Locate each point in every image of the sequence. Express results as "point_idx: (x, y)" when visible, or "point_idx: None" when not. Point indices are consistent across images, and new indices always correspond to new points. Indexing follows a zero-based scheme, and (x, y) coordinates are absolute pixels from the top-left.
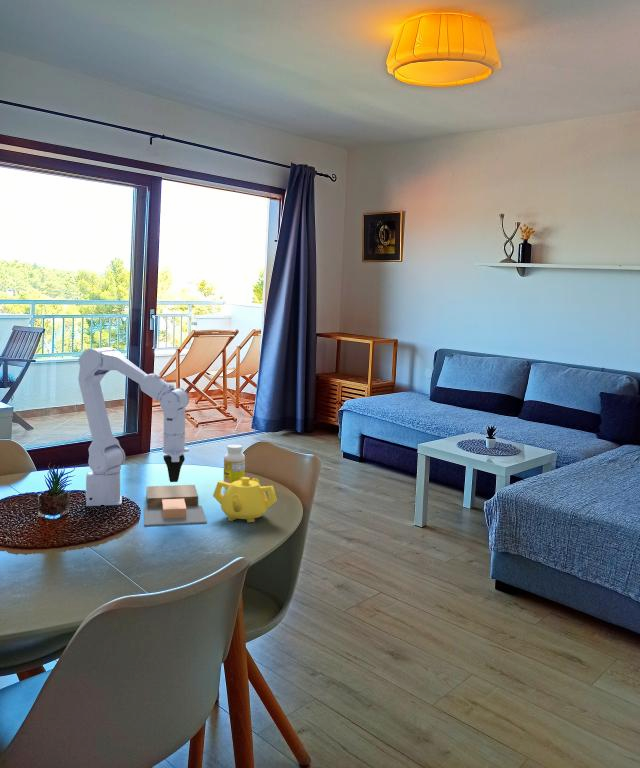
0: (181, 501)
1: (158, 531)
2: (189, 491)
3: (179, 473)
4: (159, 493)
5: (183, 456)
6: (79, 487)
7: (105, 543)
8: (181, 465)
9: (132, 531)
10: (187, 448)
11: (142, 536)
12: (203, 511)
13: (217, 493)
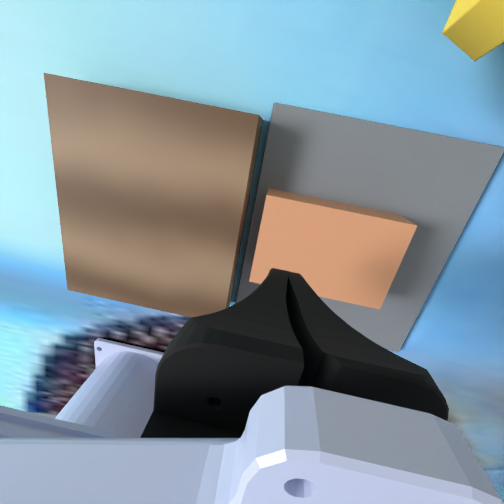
0: (306, 217)
1: (468, 327)
2: (163, 137)
3: (317, 296)
4: (169, 271)
5: (299, 367)
6: (3, 397)
7: (471, 445)
8: (371, 342)
9: None
10: (361, 500)
11: (481, 372)
12: (360, 120)
13: None
